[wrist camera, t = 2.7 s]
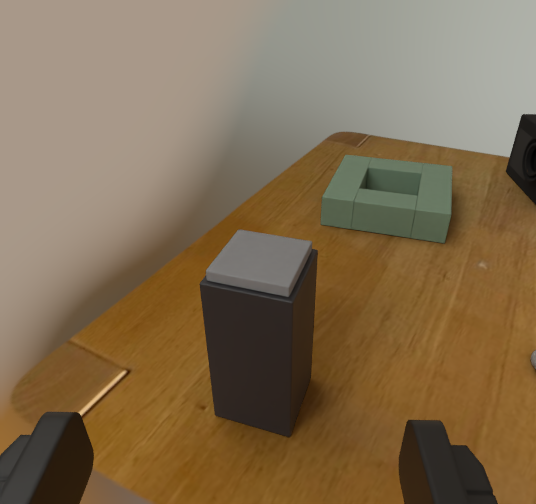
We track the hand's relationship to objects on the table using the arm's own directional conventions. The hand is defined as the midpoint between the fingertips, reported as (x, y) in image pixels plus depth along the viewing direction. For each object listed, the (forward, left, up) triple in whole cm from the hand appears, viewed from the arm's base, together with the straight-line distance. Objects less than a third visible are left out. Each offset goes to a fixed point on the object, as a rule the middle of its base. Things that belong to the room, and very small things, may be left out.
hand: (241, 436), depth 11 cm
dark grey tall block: (-3, +11, -12) cm, 16 cm away
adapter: (+1, +38, -12) cm, 40 cm away
